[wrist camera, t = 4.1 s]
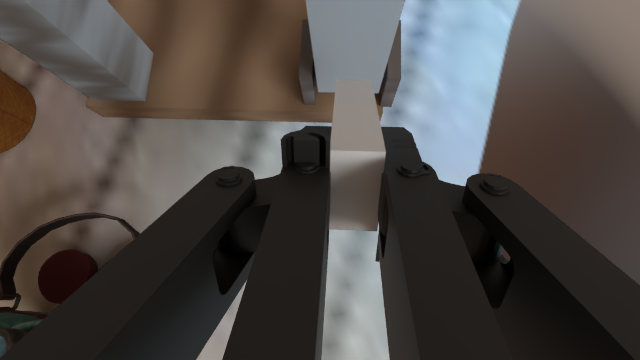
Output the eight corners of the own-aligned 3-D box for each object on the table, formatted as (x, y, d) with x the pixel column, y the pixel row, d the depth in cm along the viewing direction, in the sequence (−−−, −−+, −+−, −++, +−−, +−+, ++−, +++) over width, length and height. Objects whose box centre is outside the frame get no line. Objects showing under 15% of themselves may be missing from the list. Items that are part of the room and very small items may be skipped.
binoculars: (78, 181, 17) (22, 426, 13) (175, 225, 27) (156, 372, 23) (-101, 185, 17) (-197, 425, 14) (61, 227, 27) (27, 372, 24)
